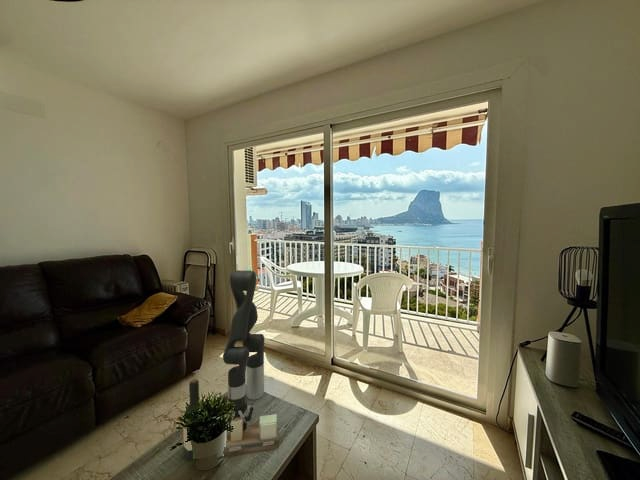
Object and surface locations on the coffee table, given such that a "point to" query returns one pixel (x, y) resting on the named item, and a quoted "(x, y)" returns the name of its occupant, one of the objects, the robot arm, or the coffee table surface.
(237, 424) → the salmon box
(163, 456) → the coffee table surface
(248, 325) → the robot arm
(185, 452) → the wine bottle
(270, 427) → the sage box
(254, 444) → the shelf board
